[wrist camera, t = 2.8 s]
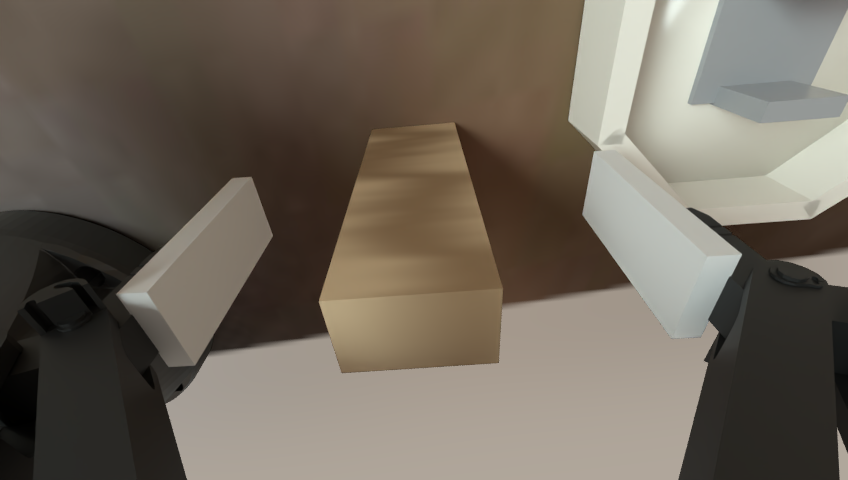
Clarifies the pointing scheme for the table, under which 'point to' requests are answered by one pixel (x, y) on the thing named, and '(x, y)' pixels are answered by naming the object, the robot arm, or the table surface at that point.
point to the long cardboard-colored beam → (413, 260)
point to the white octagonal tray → (721, 100)
